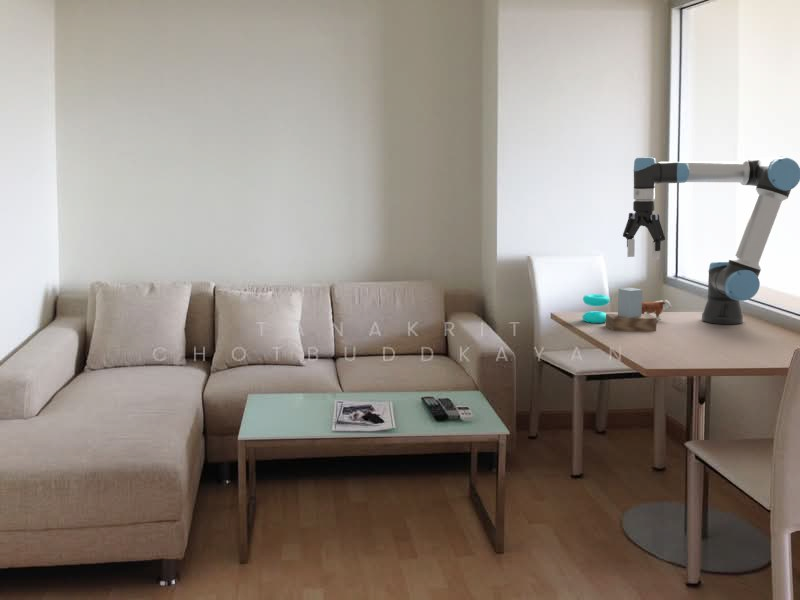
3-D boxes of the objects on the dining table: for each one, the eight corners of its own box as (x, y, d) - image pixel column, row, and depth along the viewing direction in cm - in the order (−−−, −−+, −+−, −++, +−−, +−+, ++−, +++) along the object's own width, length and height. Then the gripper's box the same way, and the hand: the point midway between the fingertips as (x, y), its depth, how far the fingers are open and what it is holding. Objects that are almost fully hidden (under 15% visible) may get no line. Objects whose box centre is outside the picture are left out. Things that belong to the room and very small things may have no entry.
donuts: (601, 298, 361) (578, 295, 367) (600, 324, 362) (577, 321, 369) (614, 295, 368) (591, 293, 375) (613, 321, 370) (590, 318, 376)
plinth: (647, 326, 361) (648, 313, 360) (656, 331, 351) (656, 318, 350) (605, 327, 360) (606, 314, 359) (612, 332, 350) (613, 318, 349)
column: (629, 314, 359) (630, 287, 357) (641, 316, 354) (642, 289, 352) (617, 315, 356) (618, 288, 354) (629, 318, 351) (630, 290, 349)
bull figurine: (671, 321, 369) (672, 300, 368) (635, 320, 372) (636, 299, 370) (669, 319, 374) (670, 299, 372) (634, 318, 376) (635, 298, 375)
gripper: (613, 199, 359) (613, 256, 362) (659, 202, 337) (658, 262, 340) (629, 198, 362) (628, 254, 366) (675, 201, 340) (674, 260, 344)
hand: (643, 258), depth 353 cm, fingers open, 13 cm apart
